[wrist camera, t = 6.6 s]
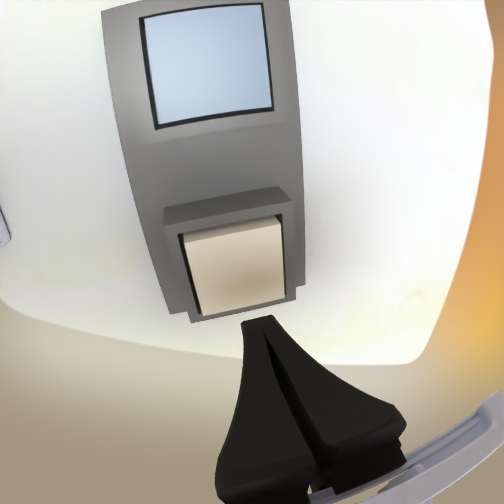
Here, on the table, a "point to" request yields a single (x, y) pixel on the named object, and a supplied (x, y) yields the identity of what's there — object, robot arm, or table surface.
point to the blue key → (208, 62)
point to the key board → (208, 152)
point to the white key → (236, 264)
